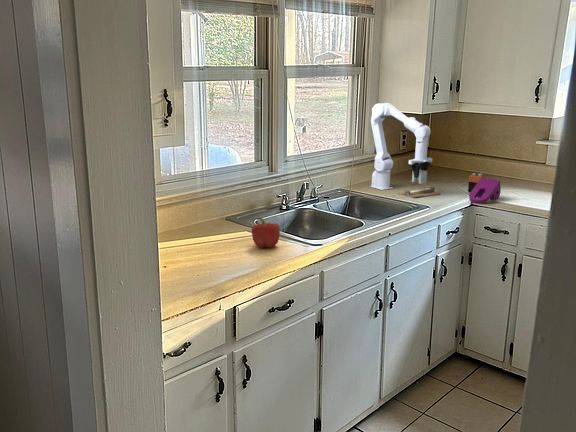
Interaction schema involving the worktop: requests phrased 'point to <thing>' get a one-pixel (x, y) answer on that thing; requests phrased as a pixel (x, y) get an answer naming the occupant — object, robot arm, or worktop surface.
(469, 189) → the battery
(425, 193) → the rail mount
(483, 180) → the mounting bracket
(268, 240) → the vegetable
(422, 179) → the block
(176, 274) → the worktop surface
